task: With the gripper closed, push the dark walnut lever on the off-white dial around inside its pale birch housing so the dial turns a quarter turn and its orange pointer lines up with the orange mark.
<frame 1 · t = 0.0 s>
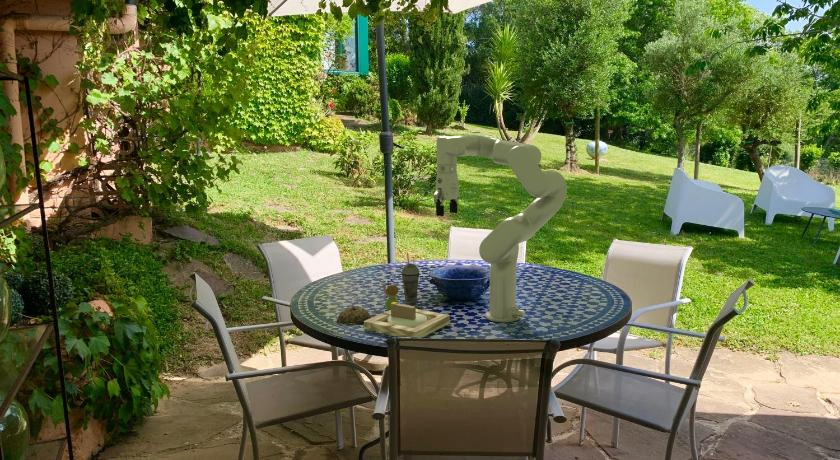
hand: (446, 214, 249), 37 cm above the table, tool pointing down, fingers open, 9 cm apart
dial: (407, 314, 232), point 5 cm above the table, hinge at 0.0°
toy figurine: (390, 311, 252), on the table
bread roll: (353, 319, 243), on the table
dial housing: (407, 326, 233), on the table
beverage cup: (410, 301, 264), on the table
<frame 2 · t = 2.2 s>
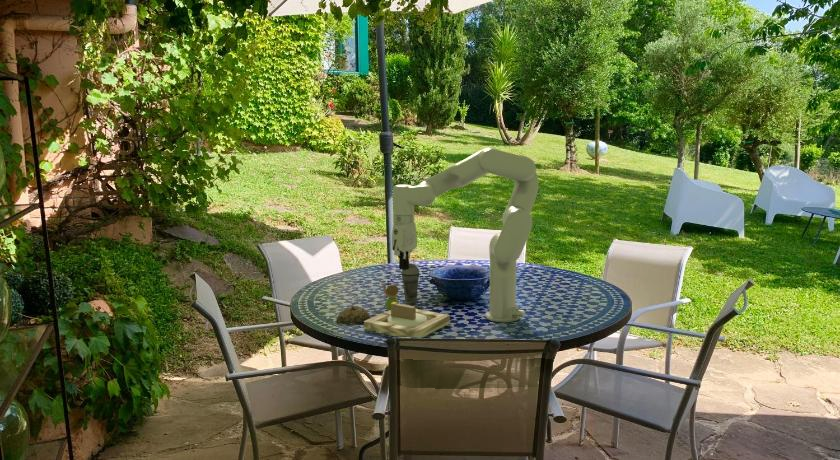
hand: (404, 268, 238), 19 cm above the table, tool pointing down, fingers closed
nothing on the table moved.
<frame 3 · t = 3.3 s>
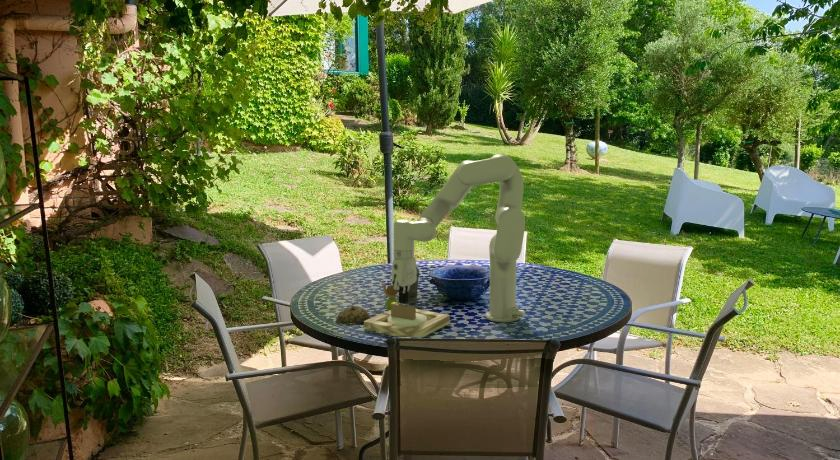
hand: (403, 302, 240), 6 cm above the table, tool pointing down, fingers closed
nothing on the table moved.
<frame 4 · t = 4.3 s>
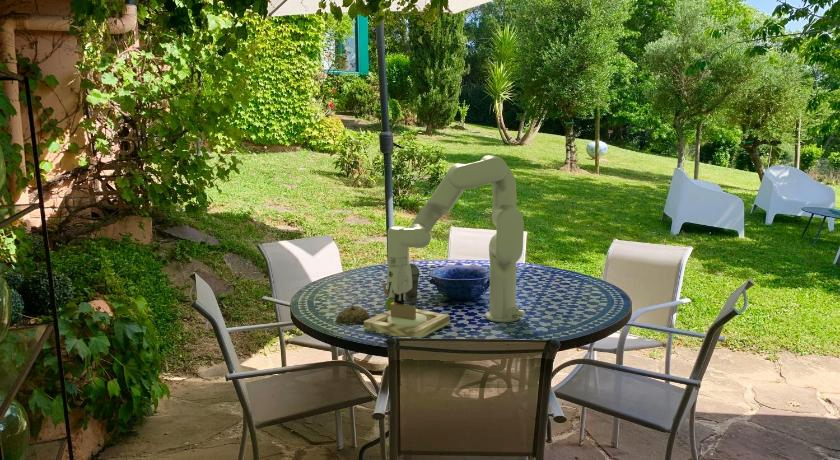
hand: (399, 310, 238), 4 cm above the table, tool pointing down, fingers closed
dial: (407, 314, 232), point 5 cm above the table, hinge at 2.2°, touching gripper
everything else where it was.
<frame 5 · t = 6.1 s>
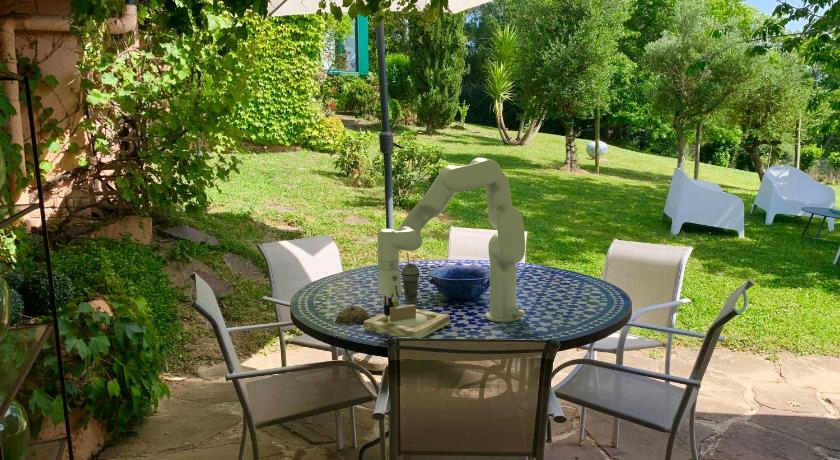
hand: (388, 314, 232), 4 cm above the table, tool pointing down, fingers closed
dial: (407, 314, 232), point 5 cm above the table, hinge at 63.1°, touching gripper
everything else where it was.
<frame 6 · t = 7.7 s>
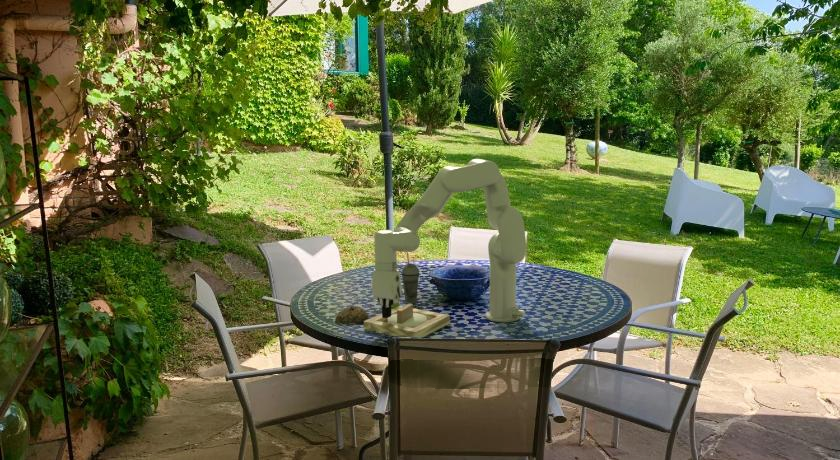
hand: (386, 316, 230), 4 cm above the table, tool pointing down, fingers closed
dial: (407, 314, 232), point 5 cm above the table, hinge at 99.9°
everything else where it was.
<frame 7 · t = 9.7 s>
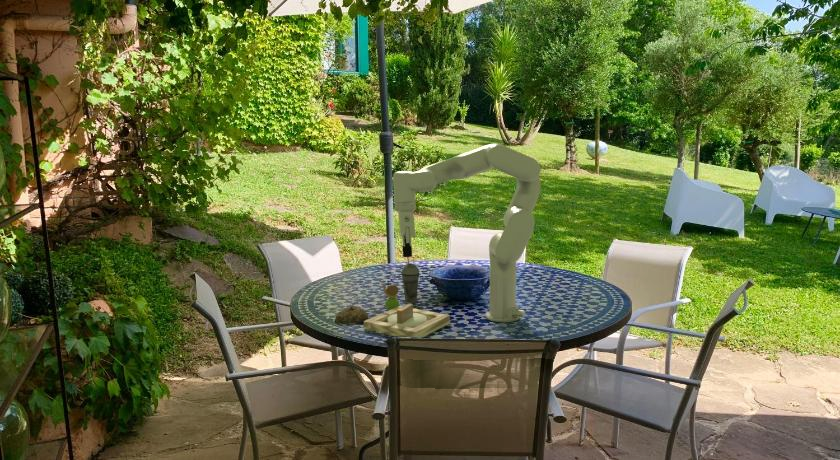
hand: (407, 256, 236), 24 cm above the table, tool pointing down, fingers closed
nothing on the table moved.
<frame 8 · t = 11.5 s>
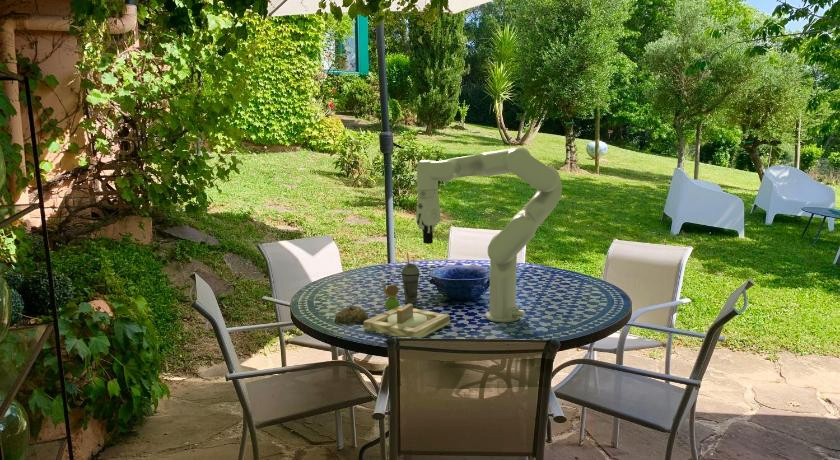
hand: (428, 243, 243), 27 cm above the table, tool pointing down, fingers closed
nothing on the table moved.
at the end: dial at +100° (first picture: +0°) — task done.
